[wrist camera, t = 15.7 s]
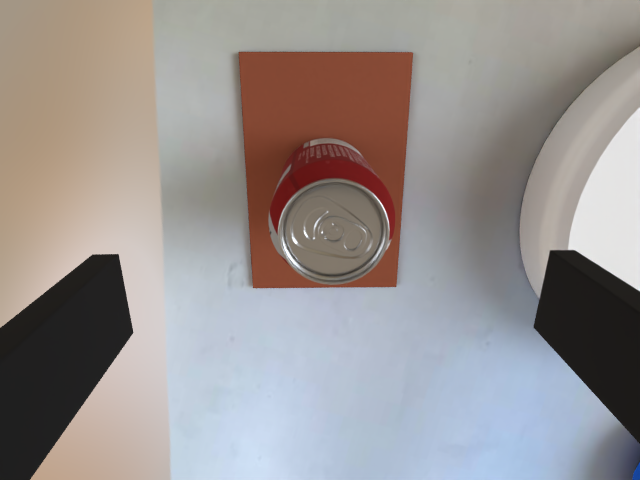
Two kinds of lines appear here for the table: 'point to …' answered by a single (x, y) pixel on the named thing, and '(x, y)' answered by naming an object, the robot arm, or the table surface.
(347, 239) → the soda can
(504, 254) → the table surface
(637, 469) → the vase
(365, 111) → the mat
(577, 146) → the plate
